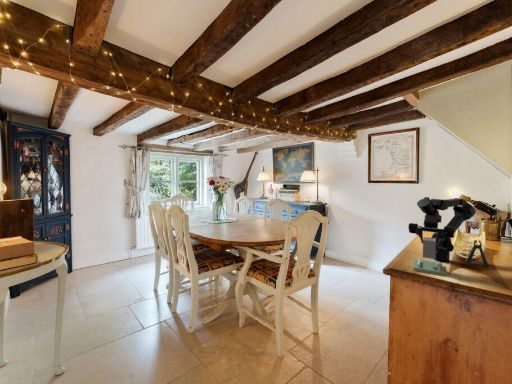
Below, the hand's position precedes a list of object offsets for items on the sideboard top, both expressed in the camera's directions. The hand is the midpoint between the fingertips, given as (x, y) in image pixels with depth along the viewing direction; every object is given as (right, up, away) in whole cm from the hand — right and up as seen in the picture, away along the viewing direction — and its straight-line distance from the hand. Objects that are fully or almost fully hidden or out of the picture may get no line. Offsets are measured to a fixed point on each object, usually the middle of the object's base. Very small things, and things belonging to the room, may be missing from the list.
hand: (429, 244), depth 120 cm
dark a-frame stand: (+32, -12, +10) cm, 36 cm away
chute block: (+1, -7, +2) cm, 7 cm away
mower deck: (+2, -13, +3) cm, 13 cm away
